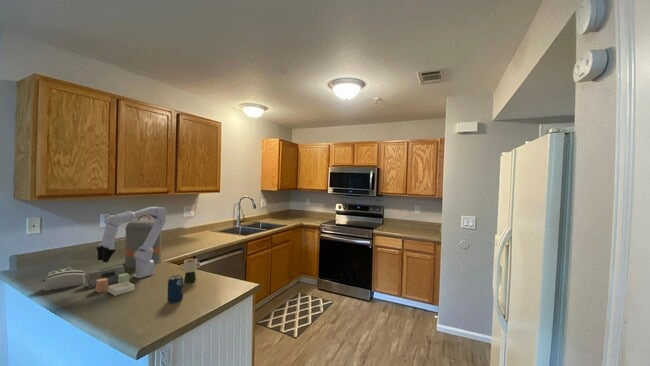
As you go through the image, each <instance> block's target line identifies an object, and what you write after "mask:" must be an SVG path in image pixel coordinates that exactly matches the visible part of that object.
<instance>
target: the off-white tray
mask: <svg viewBox="0 0 650 366" xmlns="http://www.w3.org/2000/svg"><path fill="white" fill-rule="evenodd" d="M135 288H136V287H135V284H133V283H131V282H130V281H129V282H128V281H127V282H123V283H120V284H118V283H115V284H112V285H108V291H107V292H108V293H110V294H111V295H113V297H115V296H119V295H123V294H126V293H130V292H134V291H135Z"/></svg>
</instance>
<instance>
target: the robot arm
mask: <svg viewBox="0 0 650 366" xmlns="http://www.w3.org/2000/svg"><path fill="white" fill-rule="evenodd" d="M115 214H116V215H114V214H111V215H109V216H107V217H106V219H104V223H105V228H104V232H103V236H102V238H101V241H100V243H98V244H97V246H96V250H97V251H96V252H97V260H98V261H102V263H108V262H109V261H110V259H111V258H112V255H114V254H115V252H116V251H117V250H116V249H115V242H116V238H117V235H118V230H119V226H120V225H122V224H124V223H127V222H128V223H129V222H131V221H133V220H135V218H139V217H140V216H142V215H149V216H150V218H151V219H154V221H155V223H154V225H153V227H152V229H151V231H150V233H149V235H148V237H147V238H146V240H145V242H144V244H143V245H142V246H141V247H139V249H138V250H137V251H136V252H135V253H134V259H136V268H135V273H134V274H132V277H135V278H137V279H142V278H145V277H149V276H152V275H155V265H154V261H153V260H151V258H152V253H153V249H152V247H153V245H154V243H155V241H156V239H157V237H158V235H159V233H160V232H161V230H162V229H163V228H164V226H165V224H166V218H167V217H166V216H167V214H168V211H167V209H166V208H165V207H162V206H161V207H160V206H148V207H145V208H143V209H140V210H137V211H132V210H125V212H121V213H120V212H119V213H115ZM142 217H143V216H142ZM161 233H162V232H161Z"/></svg>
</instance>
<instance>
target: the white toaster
mask: <svg viewBox="0 0 650 366" xmlns="http://www.w3.org/2000/svg"><path fill="white" fill-rule="evenodd" d="M73 270H75V269H74V268H71V267H70V266H67V267H66V268H62V269H60V268H57V270H53V269H52V271H50V272H48V273H47V274H48V276H49V275H52V274H55V273H58V272H63V271H73ZM86 275H87V274H86V272H84V276H86Z"/></svg>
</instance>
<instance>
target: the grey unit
mask: <svg viewBox="0 0 650 366" xmlns="http://www.w3.org/2000/svg"><path fill="white" fill-rule="evenodd" d="M125 267H126V266H125V265H123V264H120V265H115V266H114V265H108V266H104V267H98V268H97V269H96V270H91V271H88V274H87V275H88V276H87V277H88V279H87V280H88V281H87V283H85V284H84V287H86V288H88V289H92V288H96V280H98V279H103V278H106V279H108V284H112V283H116V282H117V283H118V275H120V274H124V273H126V272H125V270H126V268H125Z"/></svg>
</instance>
